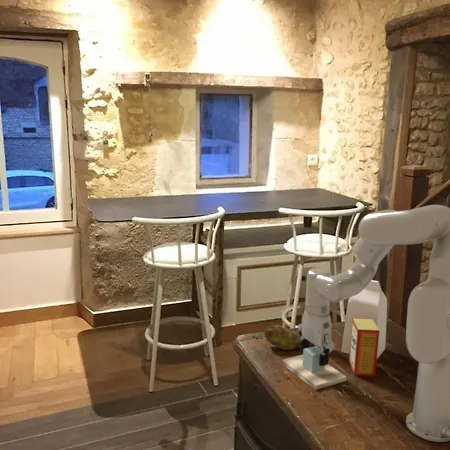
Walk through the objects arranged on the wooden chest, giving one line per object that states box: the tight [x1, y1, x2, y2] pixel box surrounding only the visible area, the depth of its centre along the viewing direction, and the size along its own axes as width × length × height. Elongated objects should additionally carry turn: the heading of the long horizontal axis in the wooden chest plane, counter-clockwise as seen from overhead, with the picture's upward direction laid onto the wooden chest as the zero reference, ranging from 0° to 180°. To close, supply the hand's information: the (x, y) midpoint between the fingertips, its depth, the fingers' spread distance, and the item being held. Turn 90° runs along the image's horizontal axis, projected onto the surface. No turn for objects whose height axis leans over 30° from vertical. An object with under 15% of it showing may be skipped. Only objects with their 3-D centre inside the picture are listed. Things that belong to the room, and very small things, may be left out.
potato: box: [264, 324, 301, 351], centre depth 182 cm, size 8×13×8 cm, turn 71°
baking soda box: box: [348, 318, 379, 377], centre depth 167 cm, size 10×6×16 cm
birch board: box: [281, 354, 347, 391], centre depth 166 cm, size 18×12×2 cm, turn 28°
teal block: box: [302, 345, 325, 373], centre depth 165 cm, size 5×5×6 cm
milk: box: [340, 279, 388, 359], centre depth 179 cm, size 12×12×26 cm
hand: (313, 358), depth 165 cm, fingers open, 9 cm apart
